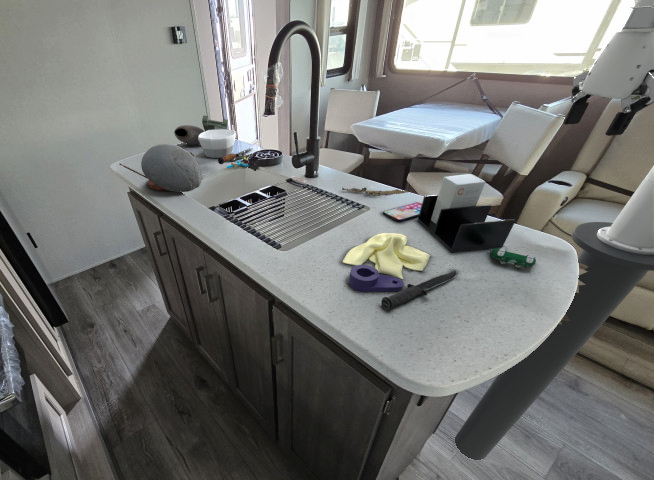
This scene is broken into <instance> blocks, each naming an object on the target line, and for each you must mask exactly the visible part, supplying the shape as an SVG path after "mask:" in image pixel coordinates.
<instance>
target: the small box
mask: <svg viewBox="0 0 654 480" xmlns="http://www.w3.org/2000/svg"><path fill="white" fill-rule="evenodd" d="M485 184H486V181H485V180H483V179H482V178H480V177H478V176H476V175H474V174H471V173H466V174H457V175H448V176H443V178H442V182H441V185H440V187H439V191H438V194H437V195H438V198H437V201H436V205H435V208H434V211H433V215H432V218H431V221H433V222H434V223H435V224H436V223H437V220H438V217H439V214H440V211H441V209H447V208H457V207H468V206H478V205H477V204H478V202H479V200H480V197H481V194H482V192H483V189H484V187H485Z"/></svg>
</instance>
